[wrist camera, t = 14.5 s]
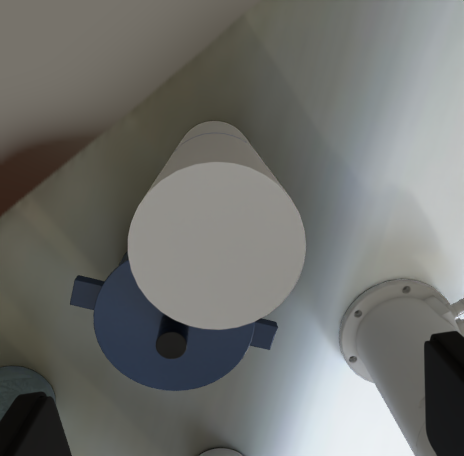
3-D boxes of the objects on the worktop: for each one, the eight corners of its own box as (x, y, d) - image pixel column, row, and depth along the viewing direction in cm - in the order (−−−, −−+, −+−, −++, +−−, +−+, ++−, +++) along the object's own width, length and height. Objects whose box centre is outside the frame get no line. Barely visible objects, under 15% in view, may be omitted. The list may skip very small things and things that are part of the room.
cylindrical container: (191, 109, 40) (159, 134, 16) (263, 136, 41) (334, 198, 17) (167, 181, 42) (106, 300, 18) (236, 206, 43) (267, 349, 19)
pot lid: (114, 225, 35) (100, 244, 30) (273, 265, 36) (281, 288, 32) (83, 365, 38) (67, 399, 34) (229, 396, 40) (231, 432, 36)
